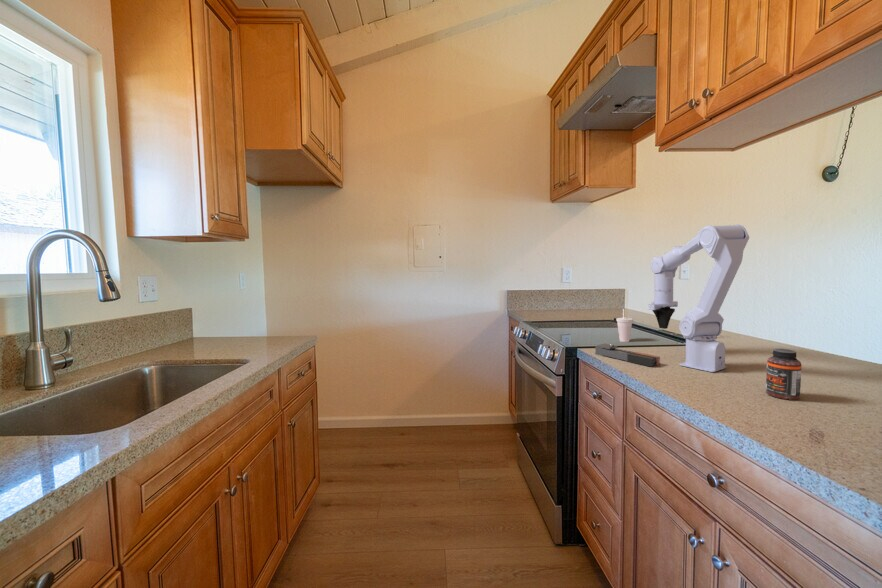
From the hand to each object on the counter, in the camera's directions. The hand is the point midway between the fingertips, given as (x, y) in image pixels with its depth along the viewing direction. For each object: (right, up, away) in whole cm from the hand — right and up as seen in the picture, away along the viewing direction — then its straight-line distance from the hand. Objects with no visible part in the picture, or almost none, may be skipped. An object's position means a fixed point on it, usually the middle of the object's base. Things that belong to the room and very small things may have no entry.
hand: (663, 328), depth 125 cm
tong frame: (-16, -10, -5) cm, 20 cm away
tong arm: (-14, -10, -5) cm, 18 cm away
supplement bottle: (+2, -13, -41) cm, 43 cm away
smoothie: (-2, -8, +23) cm, 25 cm away
